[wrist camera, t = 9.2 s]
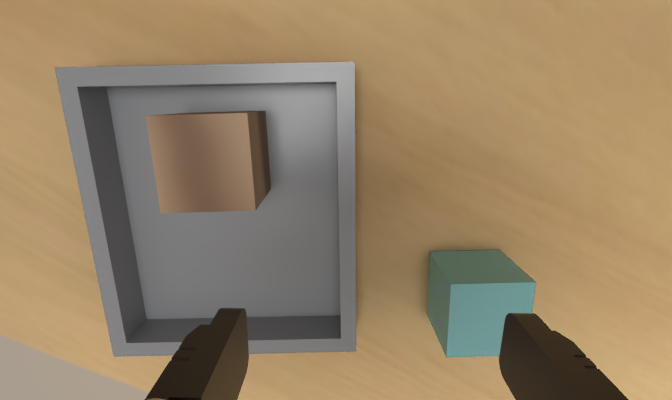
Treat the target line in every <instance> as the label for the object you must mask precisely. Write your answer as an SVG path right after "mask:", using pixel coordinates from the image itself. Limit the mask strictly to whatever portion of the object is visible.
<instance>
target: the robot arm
mask: <svg viewBox="0 0 672 400" xmlns="http://www.w3.org/2000/svg"><path fill="white" fill-rule="evenodd" d="M248 358H249V348H248V331H247V315H246V310H245V308H220V309H219V310H218V311H217V313H216V315H215V317H214V318H213V320H212V322H211V324H210V325H204V324H201V325H199V326H198V327H197V328H195V329H194V330H193V331H191V332H190V333H189V334H188V335H187V336H186V337H185V339H184V340H183V342H182V343H181V345H180V346H179V349H178V350H177V351H176V352H175V354H174V356H173V357H172V361H170V362H169V363H168V365H167V366H166V368H165V369H164V371H163V373H162V374H161V376H160V377H159V379H158V380H157V382H156V383H155V385H154V386H153V388H152V390H151V391H150V393H149V394H148V396H147V397H146V399H145V400H237V398H238V395H239V392H240V390H241V387H242V384H243V381H244V378H245V375H246V371H247V367H248ZM499 364H500V370H501V373H502V376H503V378H504V380H505V382H506V384H507V385H508V387H509V389H510V391H511V392H512V394H513V396H514V397H515V399H516V400H628V399H627V398H626V397H625V396H624V395H623V394H622V392H621V391H620V390H619V389H618V388H617V387H616V386H615V385H614V384H613V383H612V382H611V381H610V380H609V379H608V378H607V377H606V376H605V375H604V374H603V373H602V372H601V371H600V370H599V369H597V368H596V365H595V364H594V363H593V362H592V361H591V360H590V359H589V358H586V355H585V354H584V353H583V352H582V351H581V350H580V349H579V348H578V347H577V346H576V345H575V343H574V342H572V341H571V340H569V339H568V338H566V337H564V336H563V335H561V334H560V333H558V332H557V331H551V330H550V329H549V327H548V326H547V325H546V324H545V323H544V322H543V321H542V320H541V319H540V318H539V316H537V315H536V314H534V313H508V314H507V315H506V318H505V322H504V329H503V335H502V342H501V348H500V355H499Z"/></svg>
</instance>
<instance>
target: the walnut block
mask: <svg viewBox="0 0 672 400" xmlns="http://www.w3.org/2000/svg"><path fill="white" fill-rule="evenodd" d="M145 117H146V123H147V130H148V136H149V142H150V149H151V155H152V161H153V168H154V174H155V181H156V187H157V193H158V200H159V206H160V212H161V213H189V212H225V211H256V210H257V208H258V207H259V205H260V204H261V203H262V201H263V200H264V198H265V197H266V195H267V194H268V193H269V191H270V190H271V180H270V166H269V153H268V139H267V126H266V112H265V111H233V112H197V113H176V114H163V115H149V116H145Z"/></svg>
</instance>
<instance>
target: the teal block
mask: <svg viewBox="0 0 672 400" xmlns="http://www.w3.org/2000/svg"><path fill="white" fill-rule="evenodd" d="M535 287H536V282H535V281H534V280H533V279H532V278H531V277H530V276H529V275H528V274H526V273H525V272H524V271H523V270H522V269H521V268H520V267H519V266H517V265H516V264H515V263H514V262H513V261H512V260H511V259H510V258H508V257H507V256H506V255H505V254H504V253H503V252H502V251H501V250H499V249H498V250H460V251H430V253H429V276H428V298H427V315H428V317H429V319H430V321H431V324H432V326H433V328H434V330H435V333H436V335H437V337H438V339H439V342H440V344H441V346H442V349H443V351H444V353H445V355H446V357H476V356H499V355H500V348H501V342H502V335H503V329H504V322H505V318H506V315H507V314H508V313H532V311H533V303H534V295H535Z"/></svg>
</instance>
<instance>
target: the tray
mask: <svg viewBox="0 0 672 400" xmlns="http://www.w3.org/2000/svg"><path fill="white" fill-rule="evenodd" d="M55 72H56V77H57V82H58V87H59V92H60V97H61V101H62V106H63V111H64V116H65V121H66V126H67V131H68V136H69V141H70V145H71V150H72V155H73V160H74V165H75V170H76V175H77V180H78V184H79V189H80V194H81V199H82V204H83V209H84V214H85V219H86V224H87V228H88V233H89V238H90V243H91V248H92V253H93V258H94V263H95V267H96V272H97V277H98V282H99V287H100V292H101V297H102V302H103V307H104V311H105V316H106V321H107V326H108V331H109V336H110V341H111V346H112V350H113V355H114V357H116V356H163V355H174V354H175V352H176V351H177V350H178V349H179V346H180V345H181V343H182V342H183V340H184V339H185V337H186V336H187V335H188V334H189V333H190V332H191V331H193V330H194V329H195V328H197V327H198V326H199V325H201V324H204V325H210V324H211V322H212V320H213V318H214V317H215V315H216V313H217V311H218V310H219V309H220V308H245V310H246V315H247V331H248V348H249V354H256V353H303V352H350V351H356V196H355V62H308V63H256V64H204V65H152V66H101V67H55ZM233 111H265V112H266V126H267V139H268V153H269V166H270V180H271V190H270V191H269V193H268V194H267V195H266V197H265V198H264V200H263V201H262V203H261V204H260V205H259V207H258V208H257V210H256V211H225V212H189V213H161V212H160V206H159V200H158V193H157V187H156V181H155V174H154V168H153V161H152V155H151V149H150V142H149V136H148V130H147V123H146V117H145V116H149V115H163V114H176V113H197V112H233Z"/></svg>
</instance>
